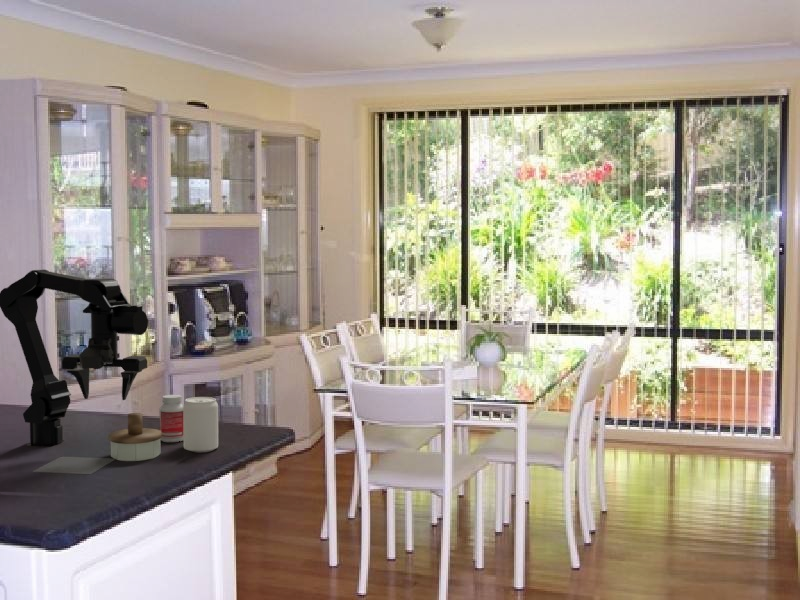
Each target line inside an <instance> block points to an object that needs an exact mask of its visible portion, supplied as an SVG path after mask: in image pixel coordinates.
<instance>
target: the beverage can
mask: <svg viewBox="0 0 800 600" xmlns="http://www.w3.org/2000/svg"><path fill="white" fill-rule="evenodd" d="M218 447H219V404H218V402H217V399H216V398H215V397H211V396H195V397H188V398H186V399H185V400H184V403H183V449H184V450H187V451H191V453H208V452H212V451H215V450H216V449H217V448H218Z"/></svg>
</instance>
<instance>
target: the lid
mask: <svg viewBox="0 0 800 600" xmlns="http://www.w3.org/2000/svg"><path fill="white" fill-rule="evenodd" d="M143 425H144V424H143V413H141V412H130V413H127V428H123V429H119V430H118V429H117V430H115V431H112V432H110V433H109V434H108V440H109V442H110V443H111V442H114V443H121V444H138V443H147V442H152V441H156V440H159V439H160V438H161V437H162V432H161V431H160V429H156V428H147V427H143Z"/></svg>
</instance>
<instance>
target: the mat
mask: <svg viewBox="0 0 800 600" xmlns="http://www.w3.org/2000/svg"><path fill="white" fill-rule="evenodd" d="M115 460H116V459H114V458H107V457H106V458H103V457H82V456H80V457H79V456H60V457H58V458H56V459H54V460H52V461H50V462H48V463H46V464H44V465H41V466H40V467H38V468H36V469H35V470H33V471H31V472H32V473H49V474H53V473H54V474H70V475H72V474H73V475H92V474H94V473H95V472H97V471H98V470H101V469H102V468H104V467H106V466H107V465H109V464H110V463H112V462H113V461H114V462H115Z"/></svg>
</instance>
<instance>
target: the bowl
mask: <svg viewBox="0 0 800 600" xmlns="http://www.w3.org/2000/svg"><path fill="white" fill-rule="evenodd" d="M159 455H161V440H160V439H159V440H156V441H152V442H147V443H138V444H121V443H114V442H111V441H110V457H111V458H112V459H116V460H117V461H123V462H137V461H138V462H139V461H146V460H152V459H154V458H157V457H158V456H159Z"/></svg>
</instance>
